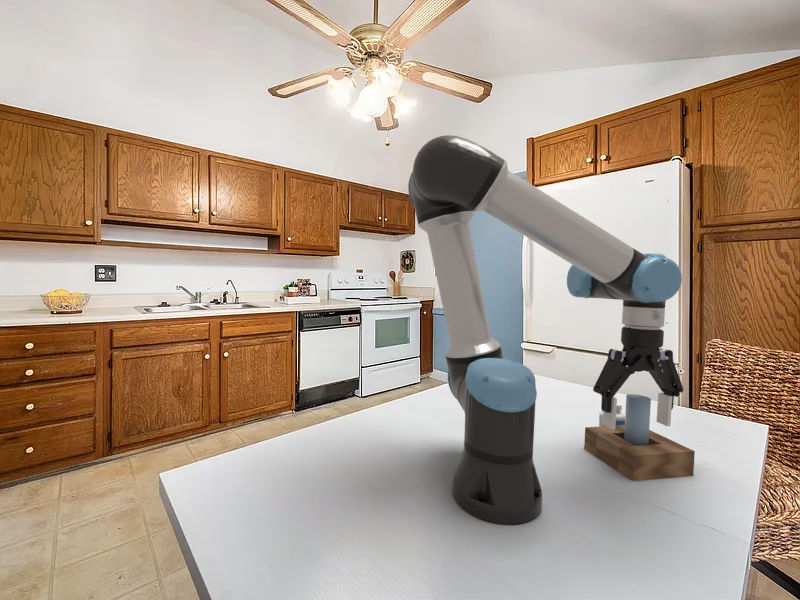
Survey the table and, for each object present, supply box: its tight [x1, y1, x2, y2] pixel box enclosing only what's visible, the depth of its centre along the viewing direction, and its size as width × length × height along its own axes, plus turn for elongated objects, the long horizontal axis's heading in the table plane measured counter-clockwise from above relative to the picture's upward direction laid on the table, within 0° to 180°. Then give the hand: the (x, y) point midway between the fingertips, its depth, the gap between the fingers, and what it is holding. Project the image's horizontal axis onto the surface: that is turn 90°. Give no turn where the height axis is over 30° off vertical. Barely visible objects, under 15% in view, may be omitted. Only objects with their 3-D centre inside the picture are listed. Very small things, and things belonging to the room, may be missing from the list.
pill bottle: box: [598, 402, 625, 427], centre depth 89 cm, size 6×5×10 cm
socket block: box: [583, 425, 696, 482], centre depth 80 cm, size 14×14×5 cm
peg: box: [624, 393, 652, 446], centre depth 79 cm, size 4×4×14 cm
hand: (636, 425), depth 79 cm, fingers open, 13 cm apart
